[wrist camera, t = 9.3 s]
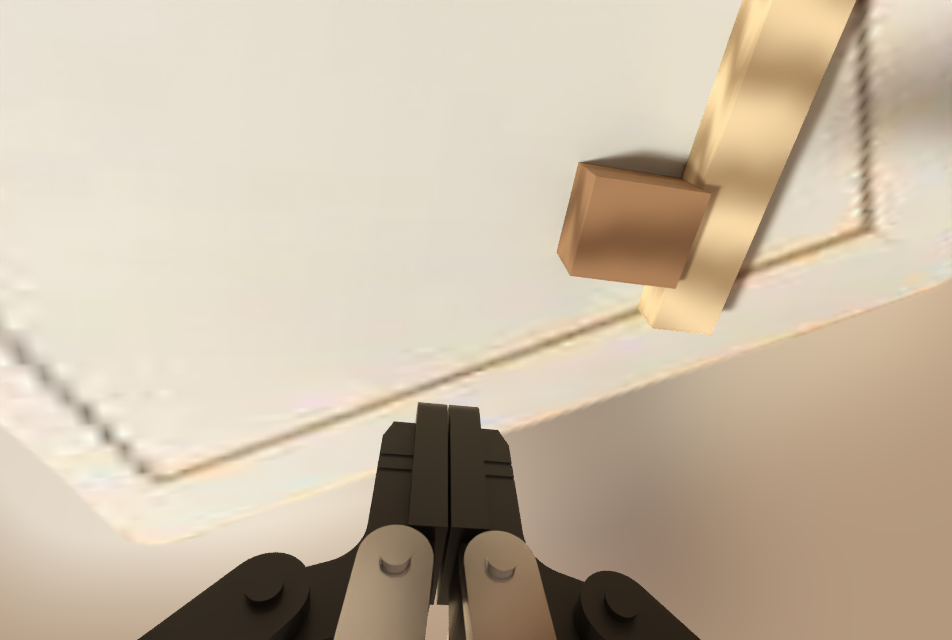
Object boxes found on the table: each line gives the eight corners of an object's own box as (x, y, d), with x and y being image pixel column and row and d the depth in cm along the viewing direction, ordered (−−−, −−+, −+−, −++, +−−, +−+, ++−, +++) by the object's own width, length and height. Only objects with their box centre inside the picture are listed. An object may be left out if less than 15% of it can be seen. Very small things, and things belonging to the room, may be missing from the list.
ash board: (753, -30, 31) (787, -41, 28) (825, -15, 31) (866, -23, 28) (637, 308, 42) (652, 328, 39) (692, 314, 42) (711, 334, 39)
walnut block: (577, 161, 36) (596, 176, 31) (679, 177, 37) (711, 193, 32) (556, 251, 39) (570, 275, 35) (650, 263, 40) (675, 289, 36)
